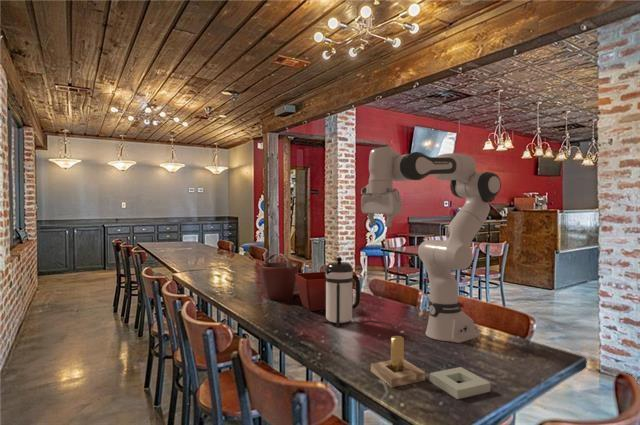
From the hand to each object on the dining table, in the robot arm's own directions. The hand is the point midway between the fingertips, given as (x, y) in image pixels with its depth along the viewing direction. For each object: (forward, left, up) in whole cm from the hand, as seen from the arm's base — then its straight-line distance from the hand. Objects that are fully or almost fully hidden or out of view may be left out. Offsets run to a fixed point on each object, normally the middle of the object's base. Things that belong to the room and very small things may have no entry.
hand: (380, 226), depth 147 cm
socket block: (-6, +36, -46) cm, 58 cm away
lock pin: (+7, +23, -46) cm, 52 cm away
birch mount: (+7, +23, -46) cm, 52 cm away
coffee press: (-1, -35, -46) cm, 58 cm away
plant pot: (-1, -63, -46) cm, 78 cm away
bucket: (+10, -94, -46) cm, 105 cm away
